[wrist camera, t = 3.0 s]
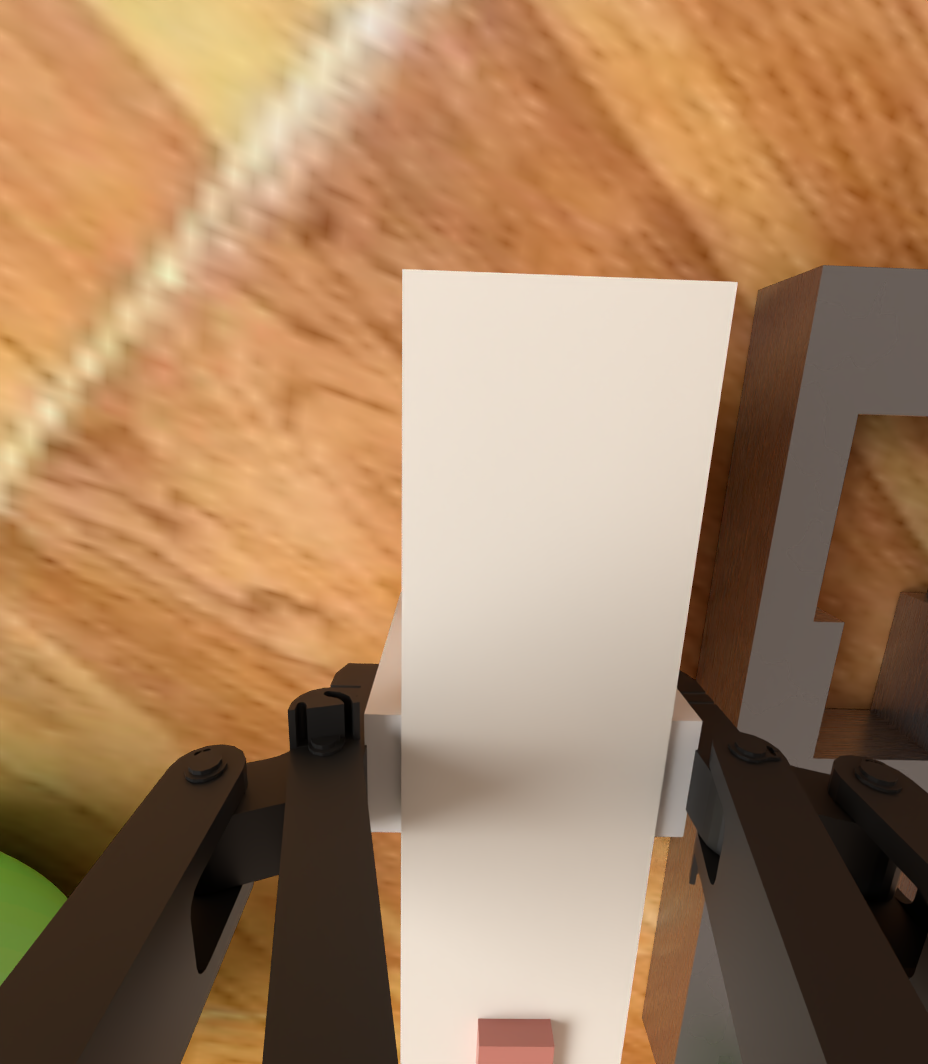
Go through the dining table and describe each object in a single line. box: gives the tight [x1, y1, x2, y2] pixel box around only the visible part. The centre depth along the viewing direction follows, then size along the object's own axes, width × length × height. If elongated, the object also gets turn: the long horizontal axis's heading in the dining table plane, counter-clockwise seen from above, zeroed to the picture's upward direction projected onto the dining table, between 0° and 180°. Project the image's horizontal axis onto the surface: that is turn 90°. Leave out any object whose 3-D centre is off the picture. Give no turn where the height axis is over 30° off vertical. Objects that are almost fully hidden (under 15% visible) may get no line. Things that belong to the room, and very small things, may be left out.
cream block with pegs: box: [401, 269, 738, 1064], centre depth 14 cm, size 18×5×10 cm, turn 178°
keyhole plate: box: [642, 265, 928, 1064], centre depth 19 cm, size 32×10×3 cm, turn 178°
